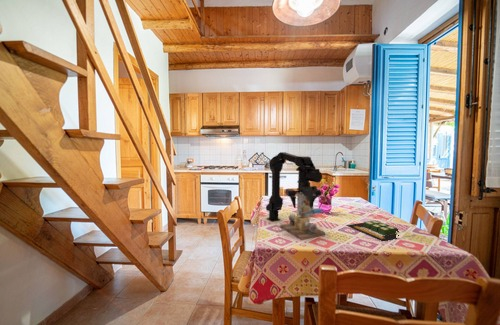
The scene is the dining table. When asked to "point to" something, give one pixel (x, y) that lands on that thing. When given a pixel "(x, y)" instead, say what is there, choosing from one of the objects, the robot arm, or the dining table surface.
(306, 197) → the coffee box
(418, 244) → the dining table surface
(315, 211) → the lever
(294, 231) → the valve board
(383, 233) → the sushi
